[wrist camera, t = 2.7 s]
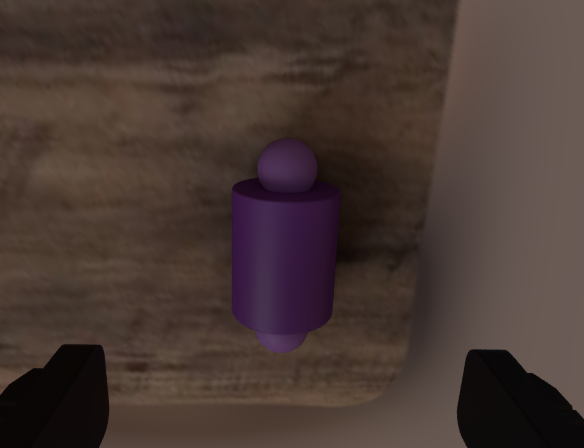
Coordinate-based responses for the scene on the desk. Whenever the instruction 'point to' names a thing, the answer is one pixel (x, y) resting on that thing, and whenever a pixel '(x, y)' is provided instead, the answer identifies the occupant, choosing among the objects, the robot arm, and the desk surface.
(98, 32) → the desk surface
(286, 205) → the candy
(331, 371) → the desk surface
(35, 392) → the robot arm
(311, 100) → the desk surface
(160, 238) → the desk surface
